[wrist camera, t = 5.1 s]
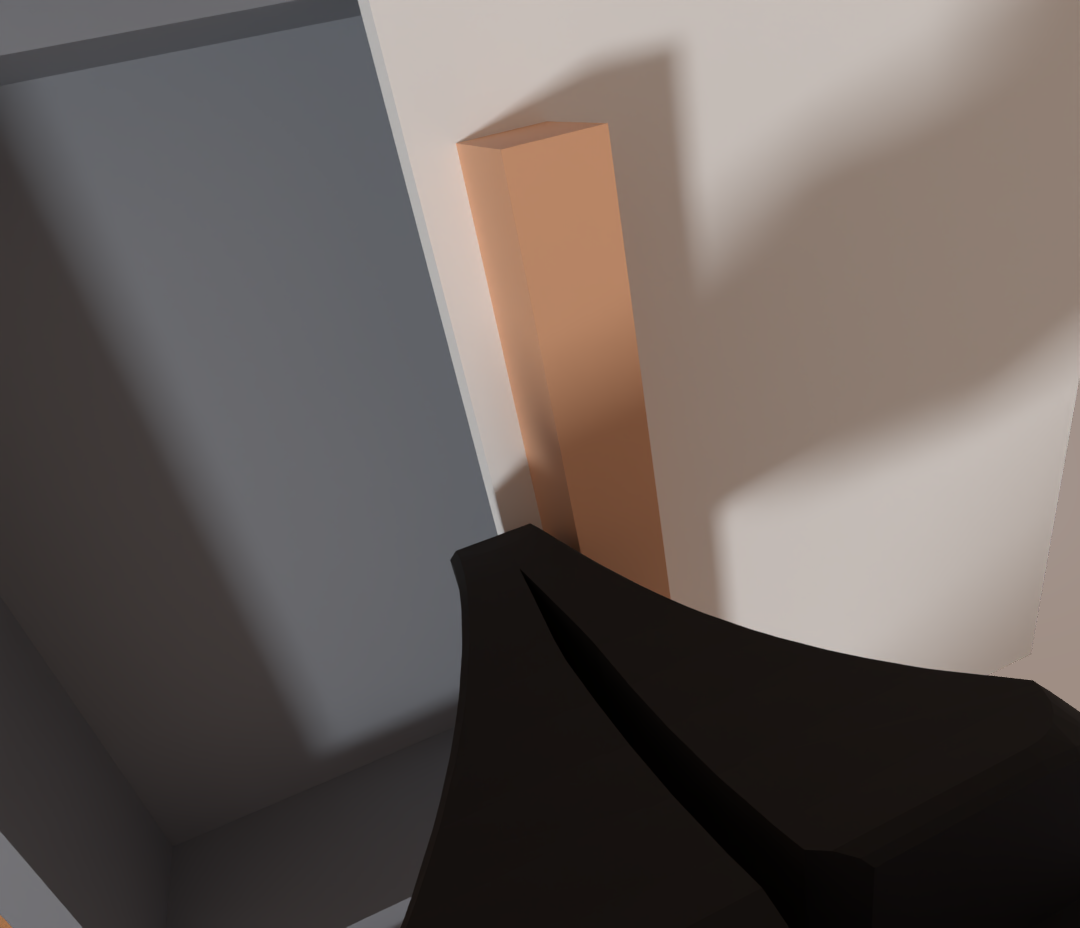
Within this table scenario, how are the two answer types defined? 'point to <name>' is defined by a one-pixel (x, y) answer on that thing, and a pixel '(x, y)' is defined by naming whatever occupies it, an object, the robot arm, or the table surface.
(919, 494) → the lid
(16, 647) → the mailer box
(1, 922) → the table surface
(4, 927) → the table surface
